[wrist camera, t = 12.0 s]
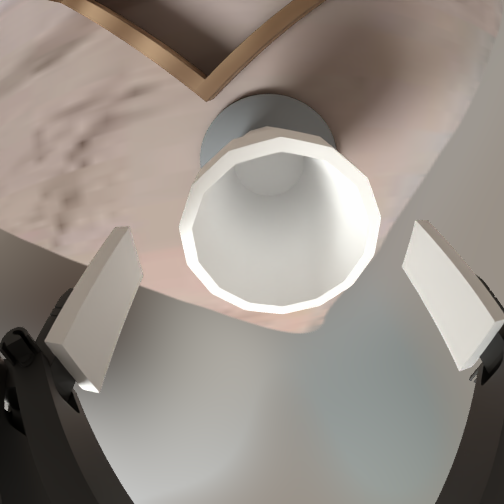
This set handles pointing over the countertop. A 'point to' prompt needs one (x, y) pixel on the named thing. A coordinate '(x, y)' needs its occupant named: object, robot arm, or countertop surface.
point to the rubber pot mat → (261, 121)
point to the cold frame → (179, 66)
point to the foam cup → (279, 222)
